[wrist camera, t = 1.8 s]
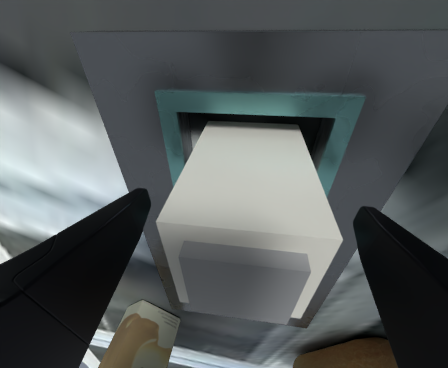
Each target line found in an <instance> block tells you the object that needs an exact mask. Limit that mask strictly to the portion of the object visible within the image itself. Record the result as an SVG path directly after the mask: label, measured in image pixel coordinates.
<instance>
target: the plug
mask: <svg viewBox="0 0 448 368" xmlns="http://www.w3.org/2000/svg"><path fill="white" fill-rule="evenodd" d="M156 224H157V227H158V231H159V234H160V237H161V241H162V244H163V247H164V251H165V254H166V257H167V261H168V264H169V267H170V271H171V274H172V277H173V281H174V284H175V287H176V291H177V294H178V297H179V301H180V302H185V303H189V304H190V308H191V311H194V312H201V313H208V314H215V315H222V316H229V317H236V318H243V319H250V320H257V321H264V322H271V323H278V324H284V325H287V323H288V321H289V319H290V317H292V318H299V319H301V317H302V315H303V313H304V312H305V310H306V308H307V306H308V304H309V302H310V300H311V299H312V297H313V295H314V293H315V291H316V289H317V287H318V286H319V284H320V282H321V280H322V278H323V276H324V275H325V273H326V271H327V269H328V267H329V265H330V263H331V262H332V260H333V258H334V256H335V254H336V252H337V250H338V249H339V247H340V245H341V243H342V241H343V238H342V236H341V233H340V231H339V228H338V226H337V223H336V221H335V218H334V215H333V213H332V210H331V208H330V205H329V203H328V200H327V198H326V195H325V192H324V190H323V187H322V185H321V182H320V180H319V177H318V175H317V172H316V169H315V167H314V164H313V162H312V159H311V157H310V154H309V151H308V149H307V146H306V144H305V141H304V139H303V136H302V134H301V131H300V128H299V126H298V125H297V124H273V123H250V122H226V121H208V122H207V124H206V126H205V128H204V130H203V132H202V134H201V136H200V138H199V140H198V141H197V143H196V145H195V147H194V149H193V151H192V153H191V155H190V157H189V159H188V161H187V163H186V165H185V166H184V168H183V170H182V172H181V174H180V176H179V178H178V180H177V182H176V184H175V186H174V188H173V190H172V191H171V193H170V195H169V197H168V199H167V201H166V203H165V205H164V207H163V209H162V211H161V213H160V215H159V216H158V218H157V220H156Z"/></svg>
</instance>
